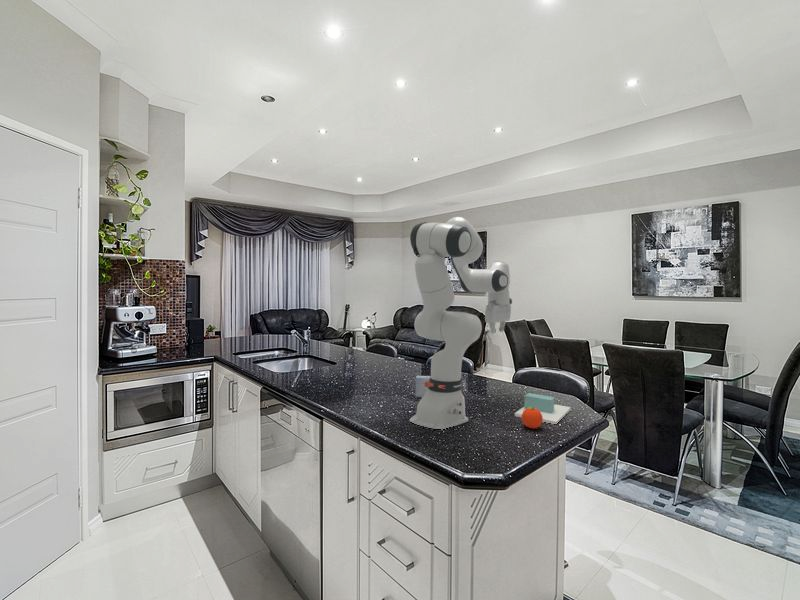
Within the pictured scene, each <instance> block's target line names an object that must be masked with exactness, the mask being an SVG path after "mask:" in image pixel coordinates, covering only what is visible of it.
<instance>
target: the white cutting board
mask: <svg viewBox="0 0 800 600" xmlns="http://www.w3.org/2000/svg"><path fill="white" fill-rule="evenodd" d="M525 409H526V408H525ZM525 409H524V406H523V407H521V408H520V409H519V410H517V411H516V412H514V418H515V417H517V418H521V419H522V413H523V411H524V410H525ZM570 411H571V406H566V405H560V404H555V403H554V411H553V412H552V413H546V412H541V411H540V412H541V414H542V417H543V421H542V423H544V422H546V423H545V424H548V423H551V424H550V425H553V424H557V423H558V422H559V421H560V420H561V419H562V418H563V417H564V416H565V415H566V414H567V415H568V413H570ZM567 415H566V416H567ZM566 416H565V417H566ZM565 417H564V418H565ZM564 418H563V419H564ZM563 419H562V420H563ZM562 420H561V421H562ZM561 421H560V422H561ZM560 422H559V423H560ZM559 423H558V424H559ZM558 424H557V425H558Z"/></svg>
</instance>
